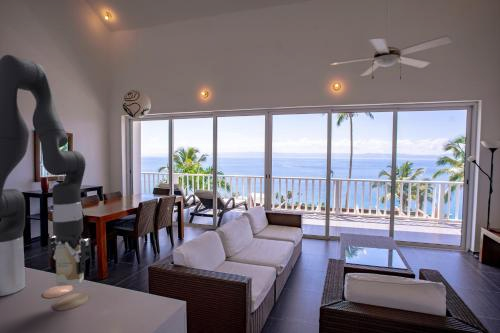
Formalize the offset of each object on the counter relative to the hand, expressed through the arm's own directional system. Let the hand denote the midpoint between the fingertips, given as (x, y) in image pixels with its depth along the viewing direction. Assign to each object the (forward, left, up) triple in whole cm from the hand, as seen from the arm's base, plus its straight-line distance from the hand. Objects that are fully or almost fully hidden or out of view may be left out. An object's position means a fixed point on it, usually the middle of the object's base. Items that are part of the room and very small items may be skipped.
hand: (70, 271), depth 87 cm
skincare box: (0, 0, -3) cm, 3 cm away
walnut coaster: (0, 0, -10) cm, 10 cm away
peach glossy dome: (-10, +4, -10) cm, 15 cm away
